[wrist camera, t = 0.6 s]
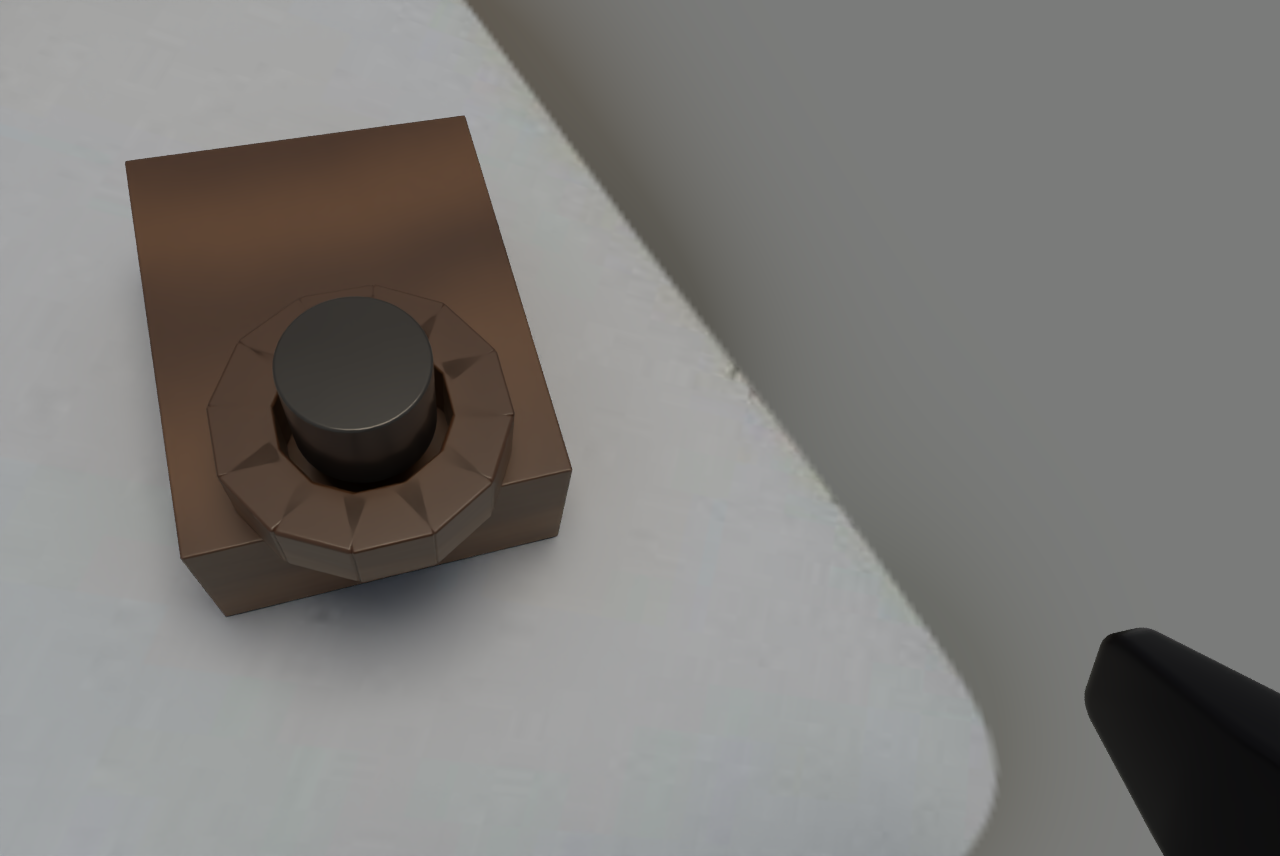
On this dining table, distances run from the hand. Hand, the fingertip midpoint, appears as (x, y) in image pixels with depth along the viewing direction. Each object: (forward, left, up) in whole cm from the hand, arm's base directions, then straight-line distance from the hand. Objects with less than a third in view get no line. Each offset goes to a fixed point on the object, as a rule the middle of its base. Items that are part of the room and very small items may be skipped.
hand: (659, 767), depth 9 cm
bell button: (+8, +4, -10) cm, 13 cm away
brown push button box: (+12, +4, -15) cm, 20 cm away
